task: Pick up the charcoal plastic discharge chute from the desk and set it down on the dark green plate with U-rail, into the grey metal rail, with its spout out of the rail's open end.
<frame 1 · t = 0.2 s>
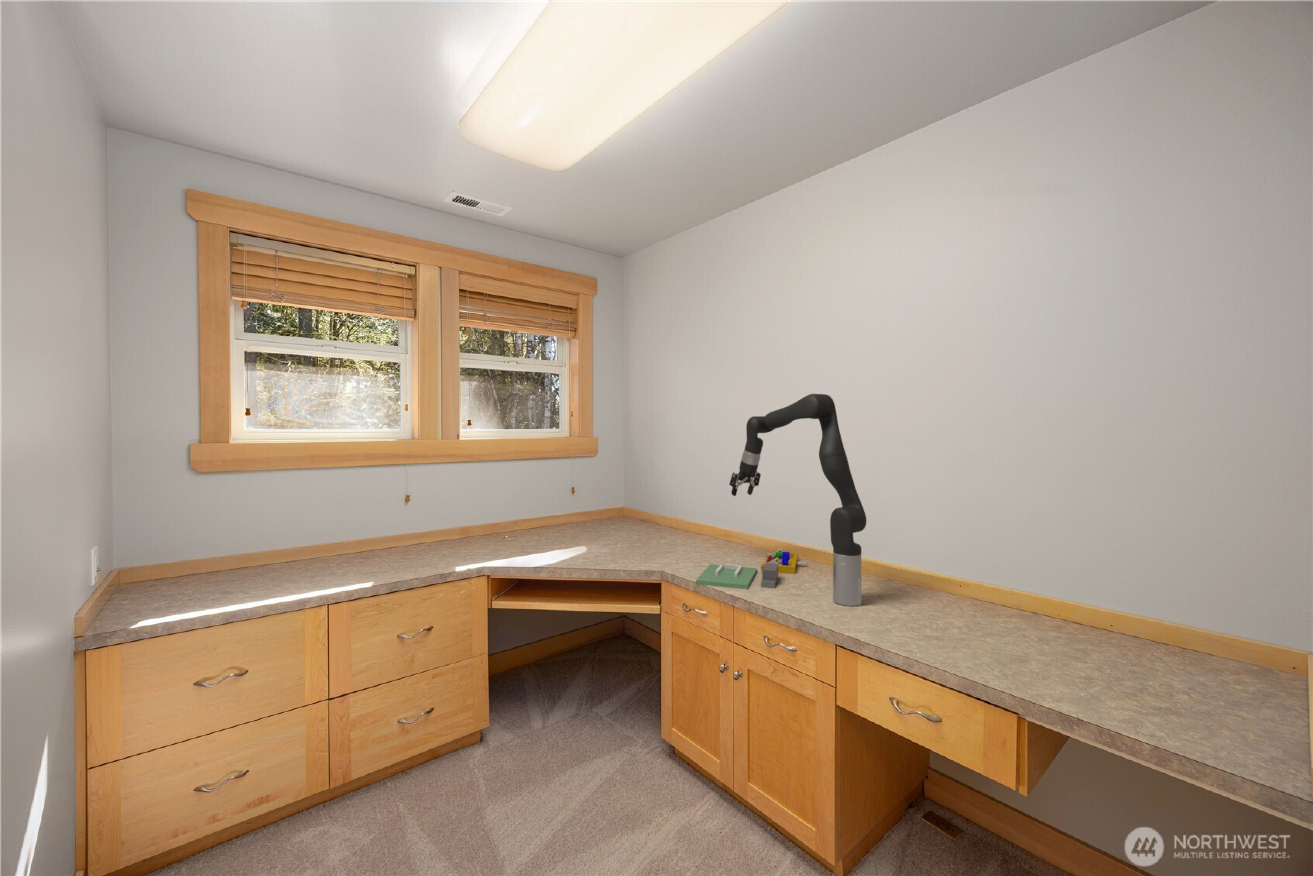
hand: (741, 494, 231), 31 cm above the table, tool tilted 20°, fingers open, 8 cm apart
chute: (770, 581, 208), on the table
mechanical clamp: (785, 568, 230), on the table
green plate with u-rail: (727, 577, 213), on the table
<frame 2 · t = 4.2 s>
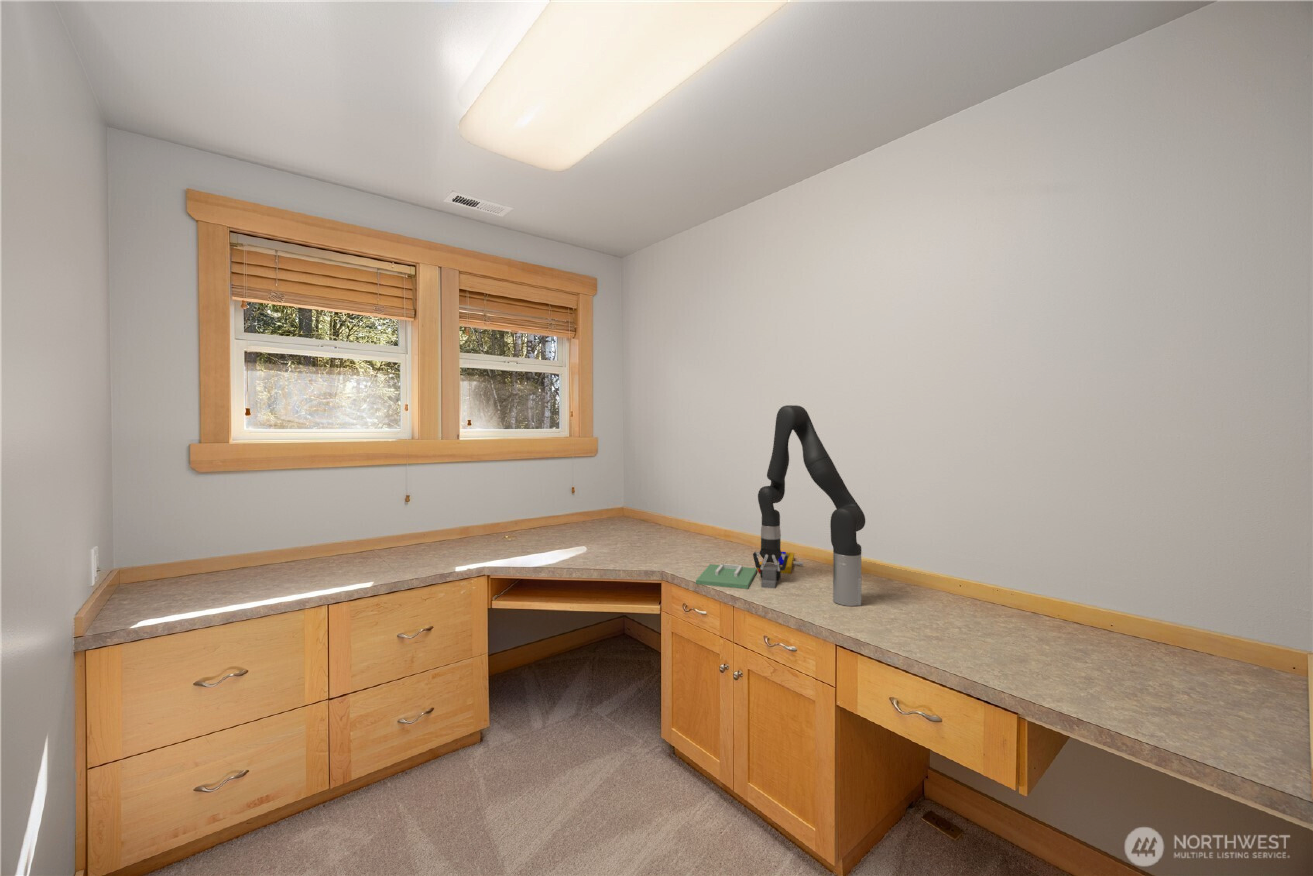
hand: (770, 579, 208), 1 cm above the table, tool pointing down, fingers closed on chute, 5 cm apart
chute: (770, 581, 208), on the table, touching gripper
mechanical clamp: (781, 567, 230), on the table
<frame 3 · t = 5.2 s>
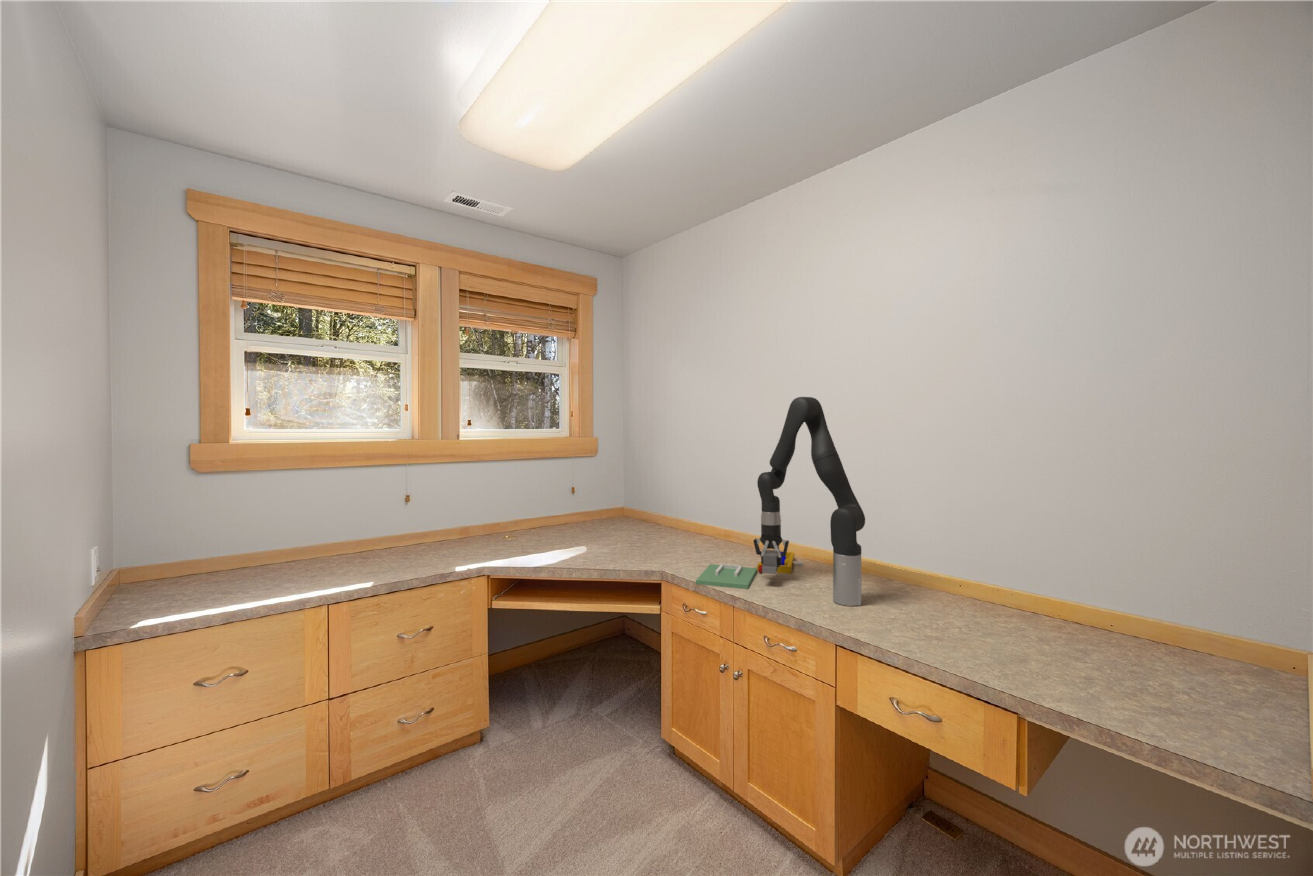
hand: (771, 565, 207), 6 cm above the table, tool pointing down, fingers closed on chute, 5 cm apart
chute: (771, 568, 207), point 5 cm above the table, touching gripper
everything else where it was.
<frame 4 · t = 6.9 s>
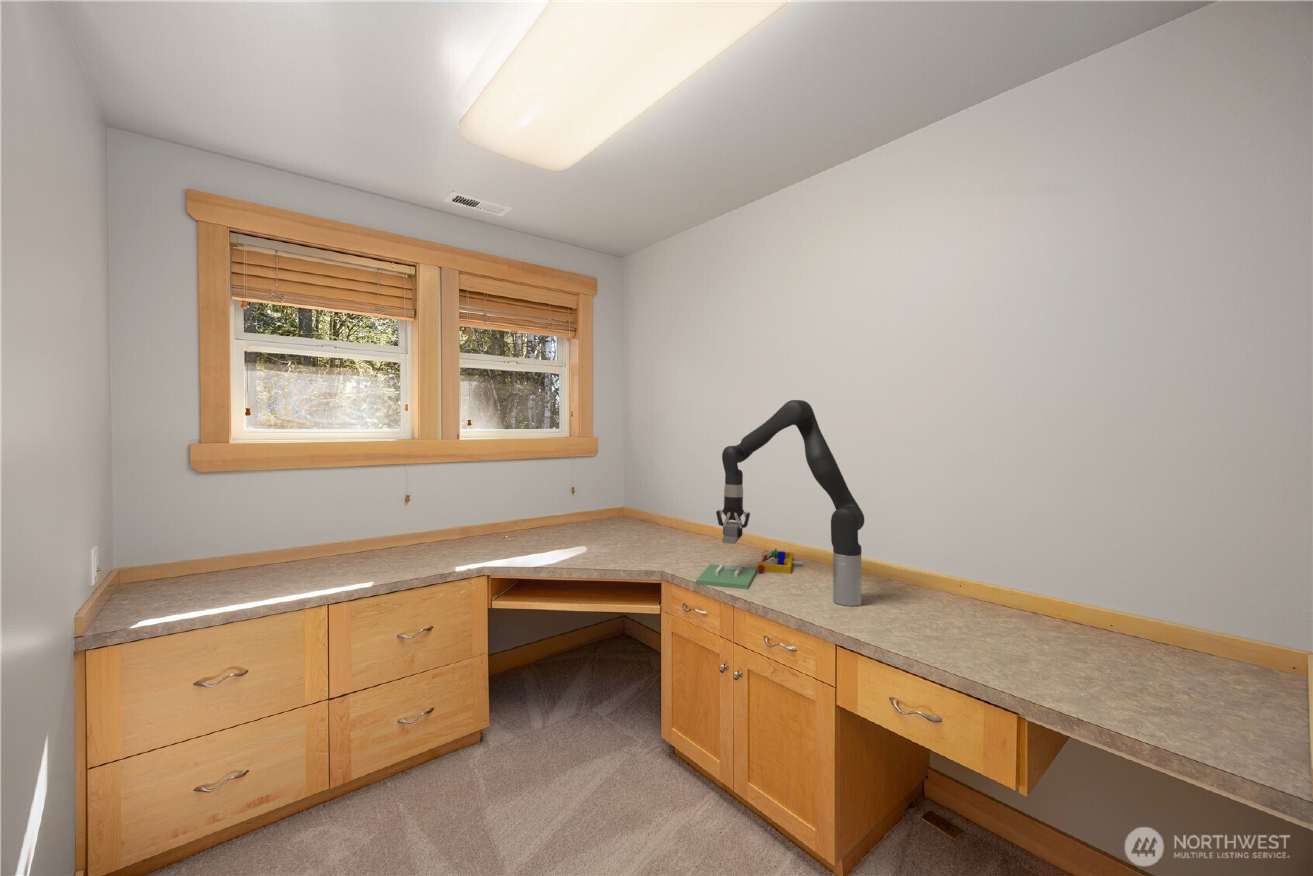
hand: (732, 536, 214), 16 cm above the table, tool pointing down, fingers closed on chute, 5 cm apart
chute: (732, 538, 214), point 15 cm above the table, touching gripper
everything else where it was.
when the fingers open (4 cm above the table, at t = 9.6 s): chute drops 1 cm, resting on green plate with u-rail.
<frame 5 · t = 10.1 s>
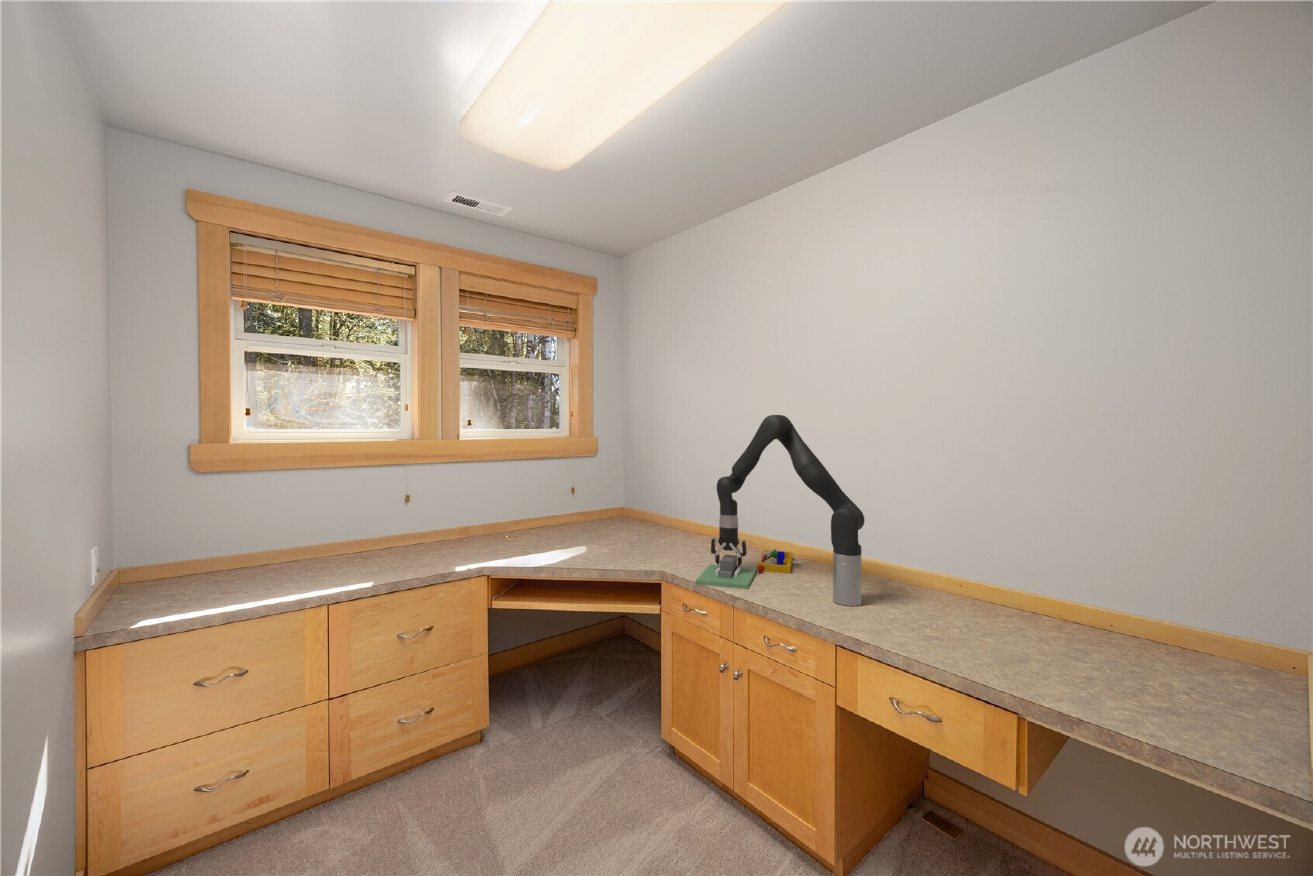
hand: (728, 565, 215), 5 cm above the table, tool pointing down, fingers open, 8 cm apart
chute: (728, 572, 215), point 1 cm above the table, touching green plate with u-rail
everything else where it was.
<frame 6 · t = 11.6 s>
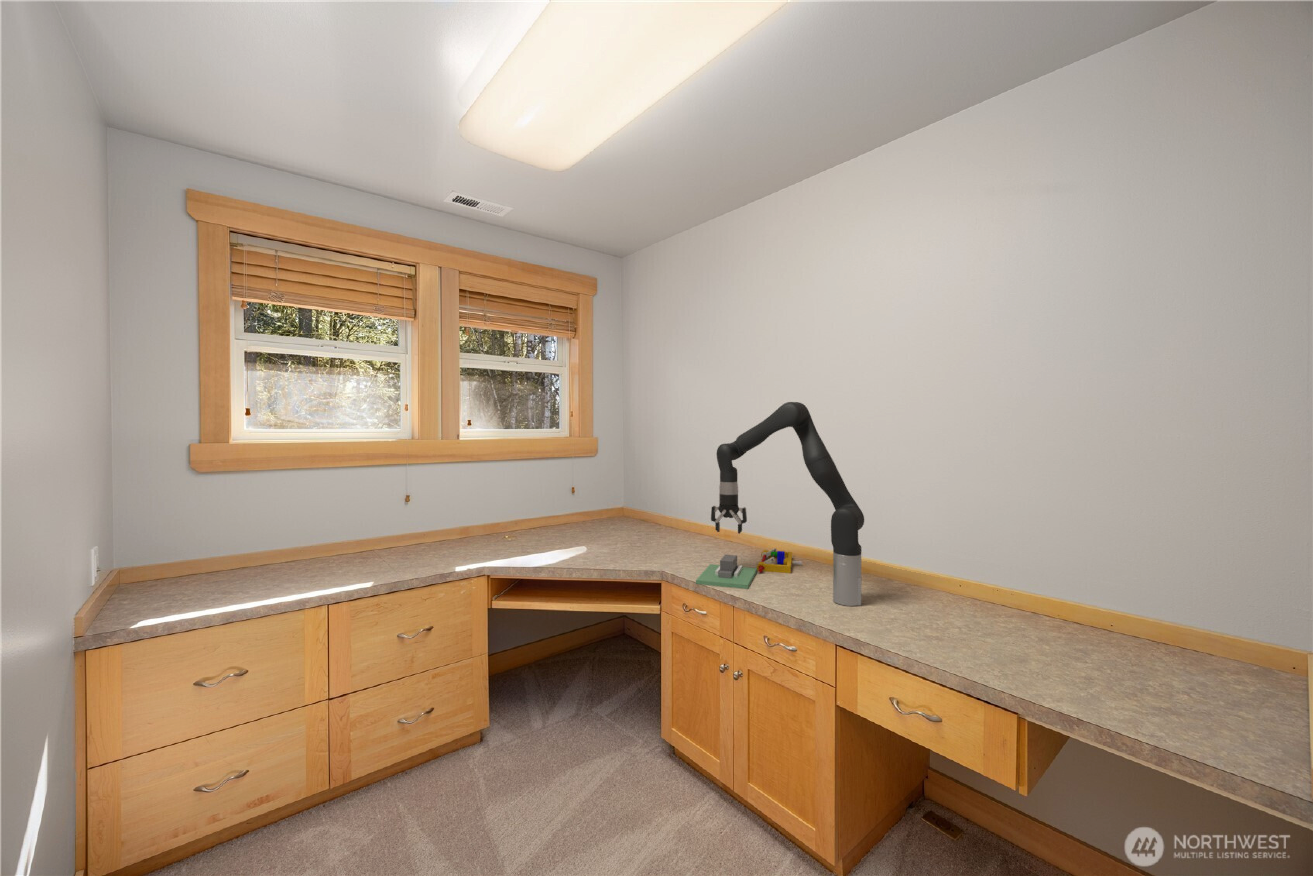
hand: (728, 532, 215), 18 cm above the table, tool pointing down, fingers open, 8 cm apart
nothing on the table moved.
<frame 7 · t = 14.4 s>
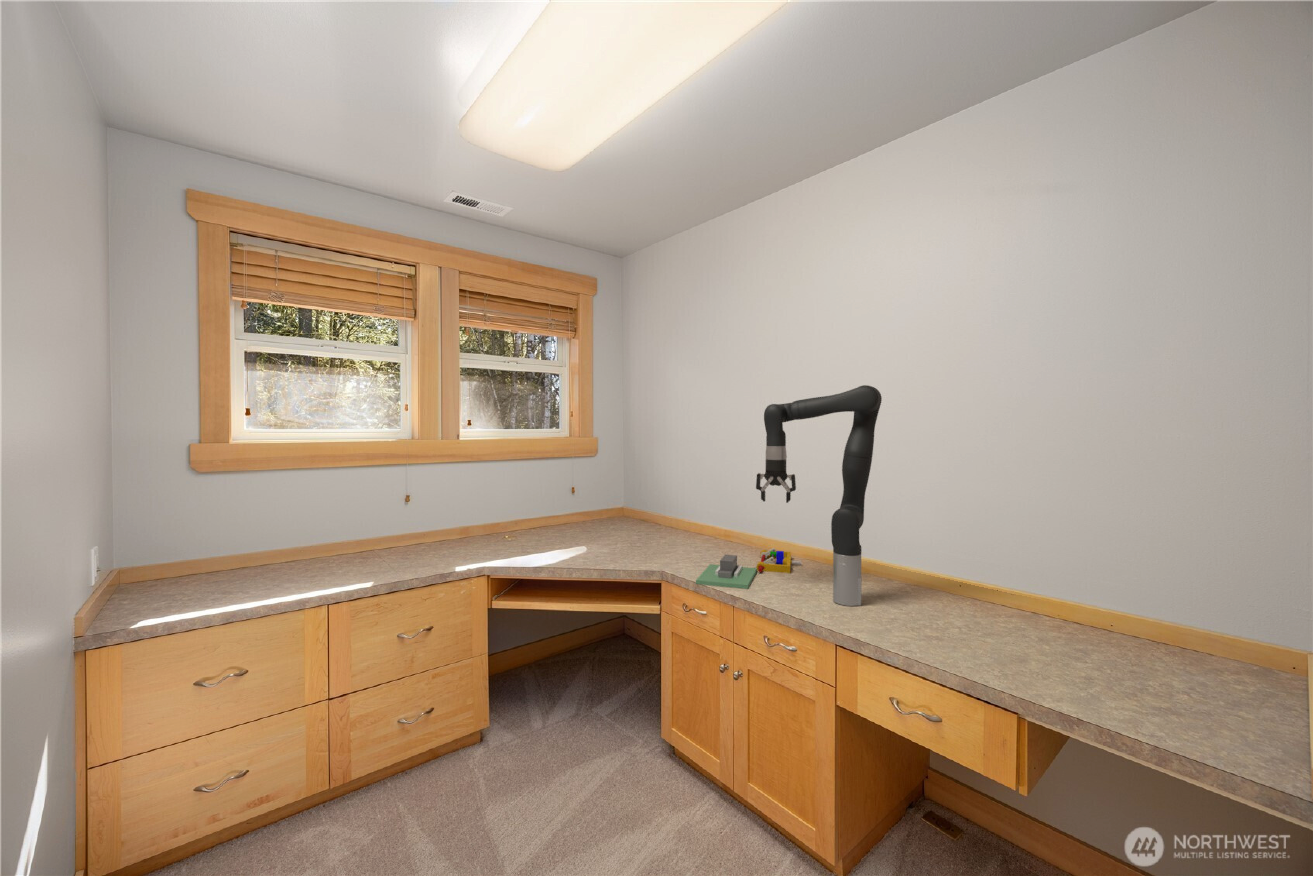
hand: (775, 501, 196), 33 cm above the table, tool pointing down, fingers open, 8 cm apart
at the end: chute 0.1 cm from the target spot on the green plate with u-rail, point 1.5 cm above the green plate with u-rail's base; chute tilted 0°; the gripper is holding nothing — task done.
